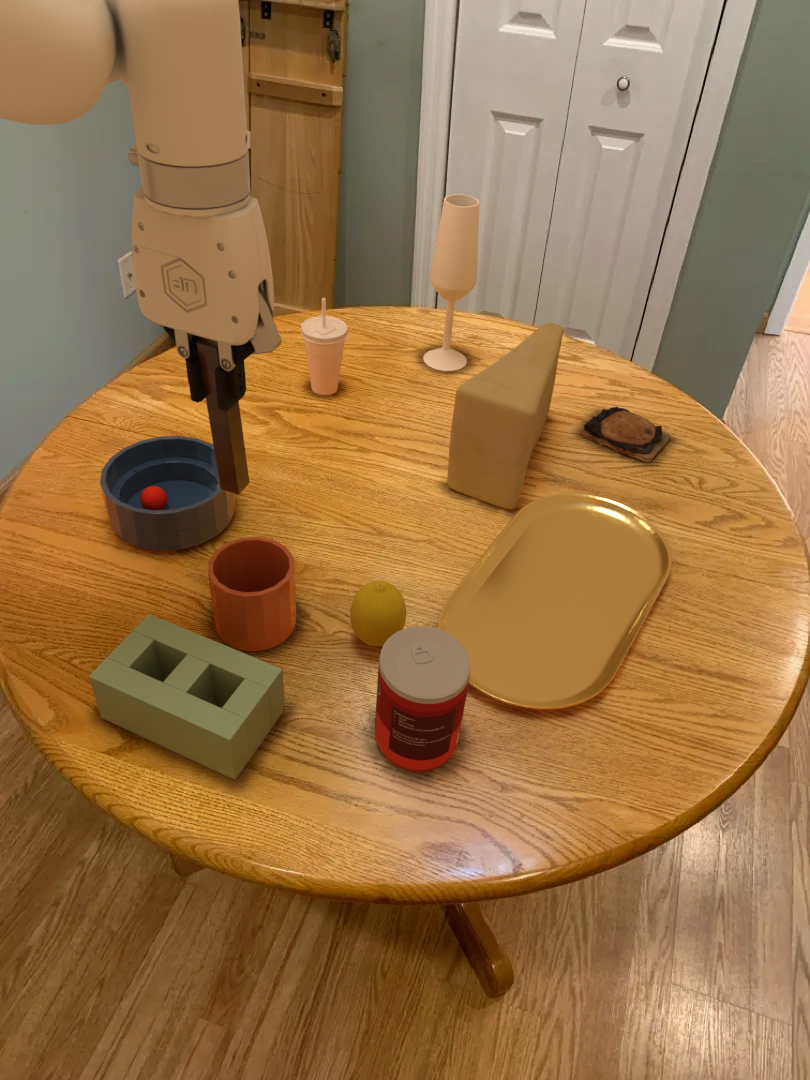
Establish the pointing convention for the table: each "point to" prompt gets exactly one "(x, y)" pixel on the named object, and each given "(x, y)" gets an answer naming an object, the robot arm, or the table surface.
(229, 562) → the crock
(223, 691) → the cinder block
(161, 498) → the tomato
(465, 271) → the champagne flute
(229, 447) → the stick
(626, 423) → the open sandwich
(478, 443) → the cheese
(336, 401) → the table surface
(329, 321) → the smoothie
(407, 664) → the canned food
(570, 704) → the serving platter
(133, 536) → the bowl
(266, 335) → the robot arm
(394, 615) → the lemon
